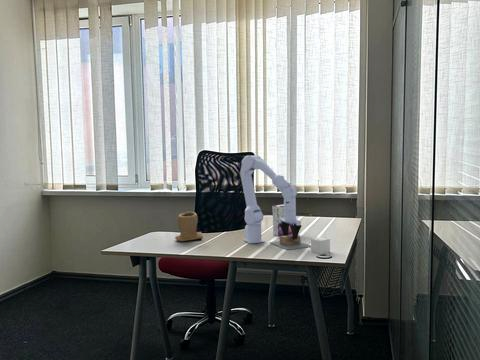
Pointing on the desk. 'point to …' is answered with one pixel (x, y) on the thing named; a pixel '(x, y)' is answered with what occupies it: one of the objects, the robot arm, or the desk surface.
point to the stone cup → (188, 227)
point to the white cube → (320, 245)
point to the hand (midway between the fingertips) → (290, 238)
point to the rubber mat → (290, 247)
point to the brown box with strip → (289, 240)
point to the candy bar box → (278, 220)
